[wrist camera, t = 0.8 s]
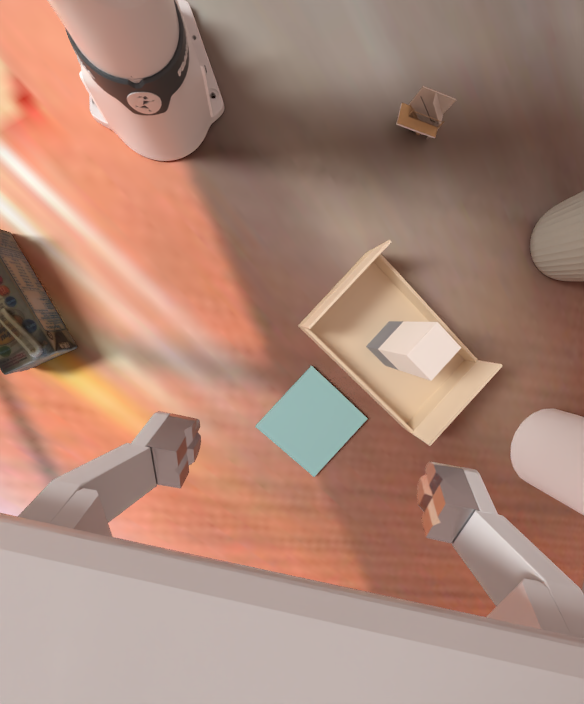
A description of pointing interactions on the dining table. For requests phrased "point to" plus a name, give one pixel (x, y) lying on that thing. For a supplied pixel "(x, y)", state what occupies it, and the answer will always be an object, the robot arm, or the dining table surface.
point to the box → (414, 347)
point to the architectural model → (425, 112)
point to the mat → (311, 421)
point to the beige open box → (368, 371)
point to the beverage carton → (26, 314)
